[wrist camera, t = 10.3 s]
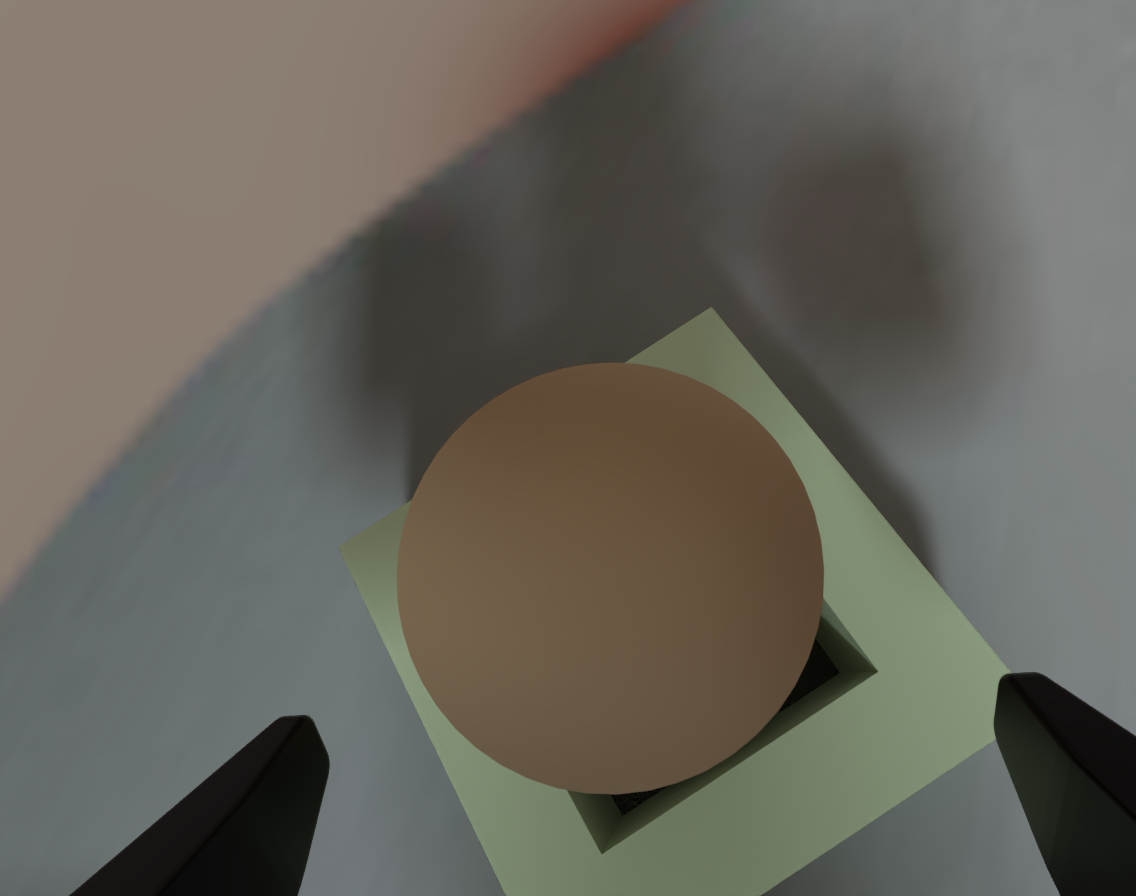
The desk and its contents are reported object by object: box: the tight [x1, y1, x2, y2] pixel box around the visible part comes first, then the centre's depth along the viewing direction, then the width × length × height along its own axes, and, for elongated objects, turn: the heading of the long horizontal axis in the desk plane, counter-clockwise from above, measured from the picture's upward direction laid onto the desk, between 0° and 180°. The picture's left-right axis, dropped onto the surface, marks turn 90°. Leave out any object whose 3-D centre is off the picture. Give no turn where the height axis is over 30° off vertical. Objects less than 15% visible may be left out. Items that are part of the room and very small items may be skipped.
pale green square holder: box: [338, 307, 1011, 896], centre depth 17 cm, size 10×10×4 cm
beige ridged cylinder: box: [397, 362, 824, 794], centre depth 13 cm, size 4×4×12 cm
